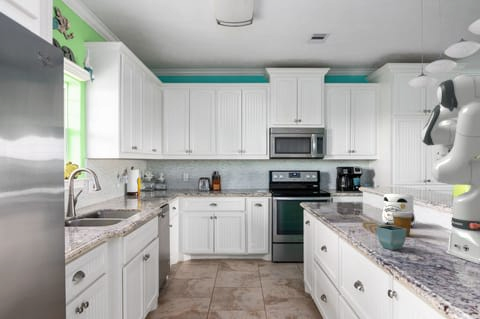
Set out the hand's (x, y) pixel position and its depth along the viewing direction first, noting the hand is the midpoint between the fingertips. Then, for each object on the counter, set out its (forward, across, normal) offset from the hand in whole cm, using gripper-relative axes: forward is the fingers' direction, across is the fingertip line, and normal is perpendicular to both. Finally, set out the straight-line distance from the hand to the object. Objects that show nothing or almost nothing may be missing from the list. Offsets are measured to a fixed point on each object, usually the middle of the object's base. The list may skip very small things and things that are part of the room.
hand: (449, 178), depth 158 cm
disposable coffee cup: (+29, +1, -25) cm, 38 cm away
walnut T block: (+29, -8, -29) cm, 42 cm away
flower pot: (+29, +24, -42) cm, 56 cm away
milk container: (+29, -24, -14) cm, 40 cm away
